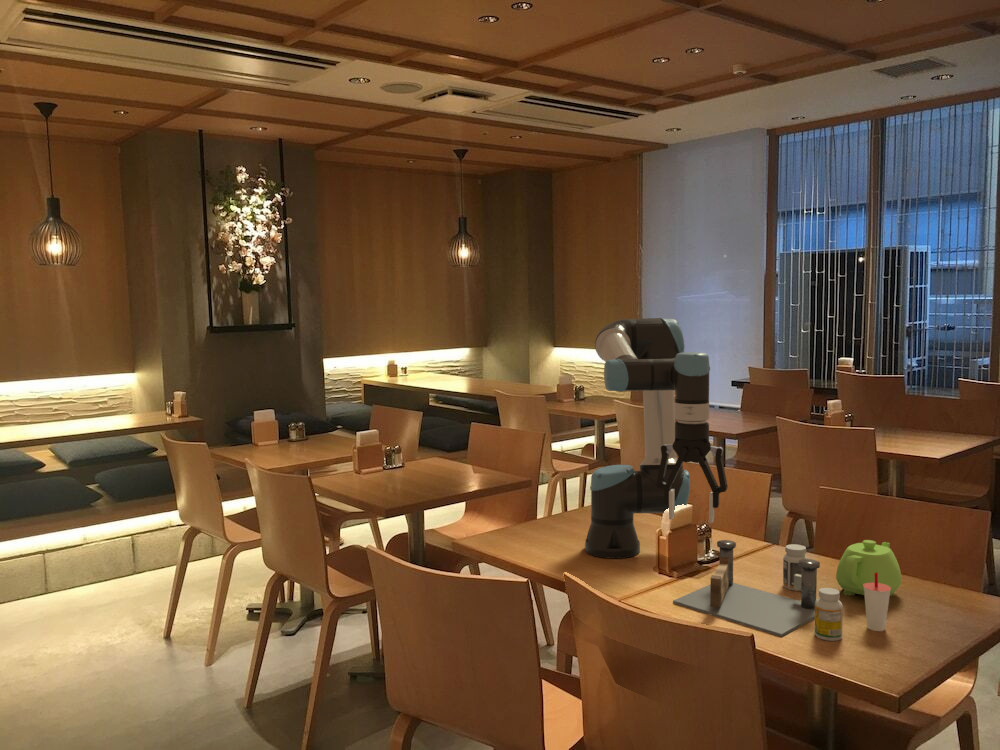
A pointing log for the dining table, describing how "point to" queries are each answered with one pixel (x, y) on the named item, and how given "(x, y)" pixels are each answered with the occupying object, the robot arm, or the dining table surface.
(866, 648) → the dining table surface
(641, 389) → the robot arm
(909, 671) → the dining table surface
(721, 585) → the wooden block
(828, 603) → the supplement bottle
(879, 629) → the cup
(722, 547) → the hinge post
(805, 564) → the post
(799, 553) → the pill bottle
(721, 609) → the base board
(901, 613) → the dining table surface
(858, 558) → the teapot
